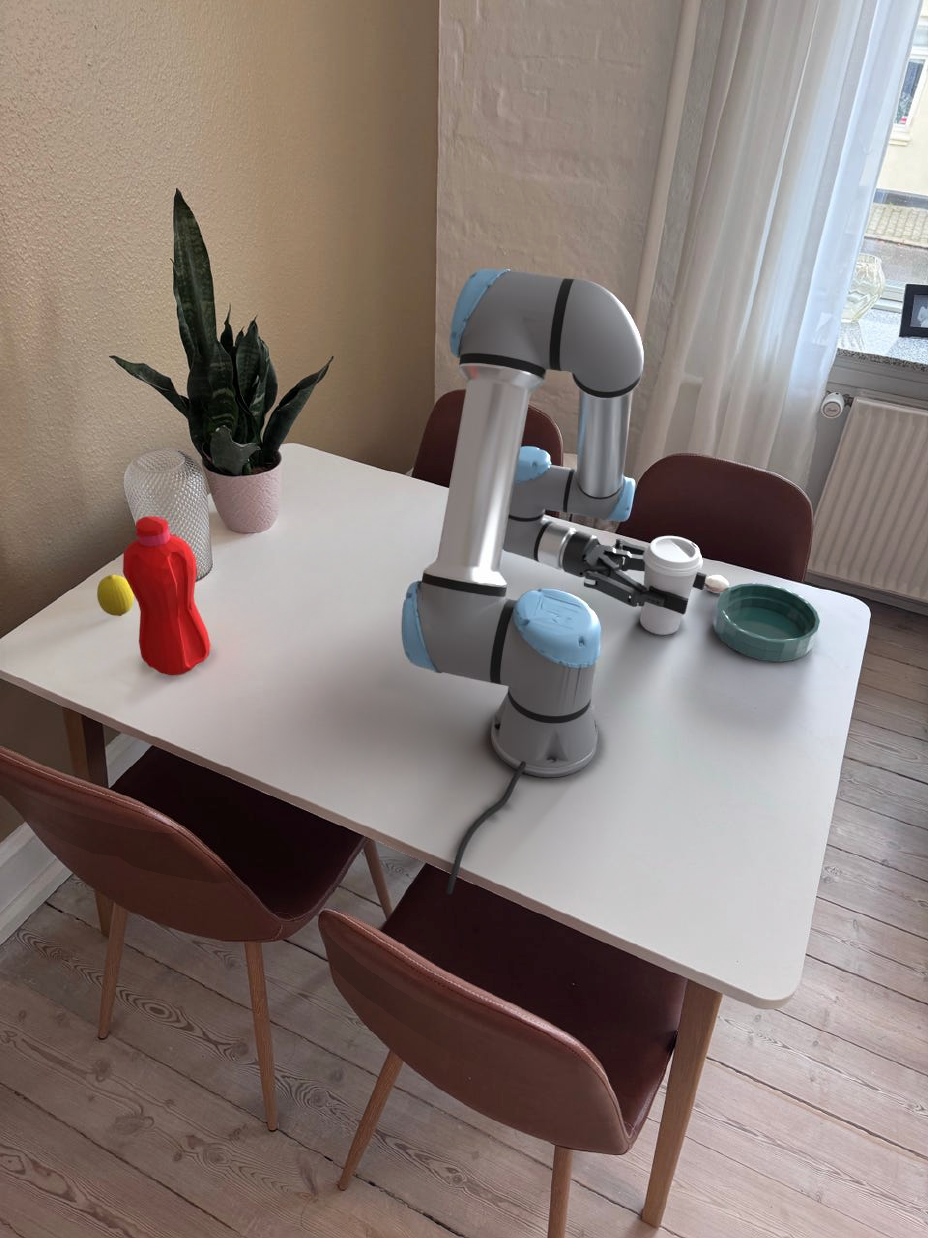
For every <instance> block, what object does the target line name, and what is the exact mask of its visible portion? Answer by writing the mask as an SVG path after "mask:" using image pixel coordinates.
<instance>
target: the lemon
mask: <svg viewBox="0 0 928 1238" xmlns="http://www.w3.org/2000/svg"><path fill="white" fill-rule="evenodd" d="M96 591H97V592H96V598H97V602H98V604H99V607H100V609H102V610H103V611H104V612H105V613H106V614H108V615H109V616H110V615H111V616H115V617H116V616H118V617H121V616H123V615H125V614H127V613H128V612H129V611H130V610H131V609H132V607H133V605H134V600H135V595H134V594H133V592H132V590H131V588H130V586H129V584H128V582H127V580H126V578H125V577H124V576H122V575H118V574H109V575H107V576H105V577H103V578H102V579H101V580H100V581H99V583H98V585H97V590H96Z"/></svg>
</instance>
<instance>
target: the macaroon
mask: <svg viewBox="0 0 928 1238" xmlns="http://www.w3.org/2000/svg"><path fill="white" fill-rule="evenodd" d="M704 588H705V589H706V590H707V591H709V592H710V593H713V594H722V593H723V592H725V591H726V590H727V589H728V588H730V584H729V581H728V580H727V579H726V578H724V577H723V575H720V574H713V575H710V576H707V577H706V580H705V584H704Z"/></svg>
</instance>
